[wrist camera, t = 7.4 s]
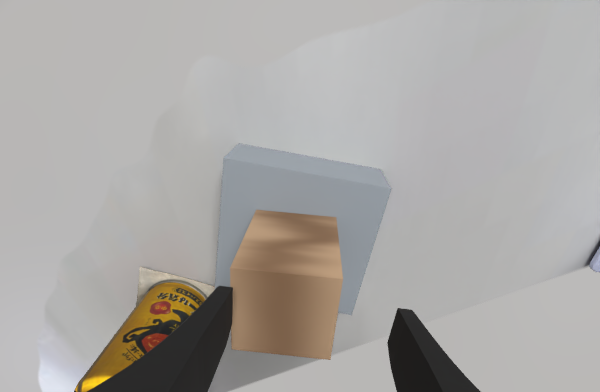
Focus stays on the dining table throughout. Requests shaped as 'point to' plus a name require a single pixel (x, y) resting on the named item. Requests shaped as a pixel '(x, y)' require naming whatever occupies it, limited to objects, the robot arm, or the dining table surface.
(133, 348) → the condiment
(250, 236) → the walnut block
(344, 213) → the slate box
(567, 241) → the dining table surface
